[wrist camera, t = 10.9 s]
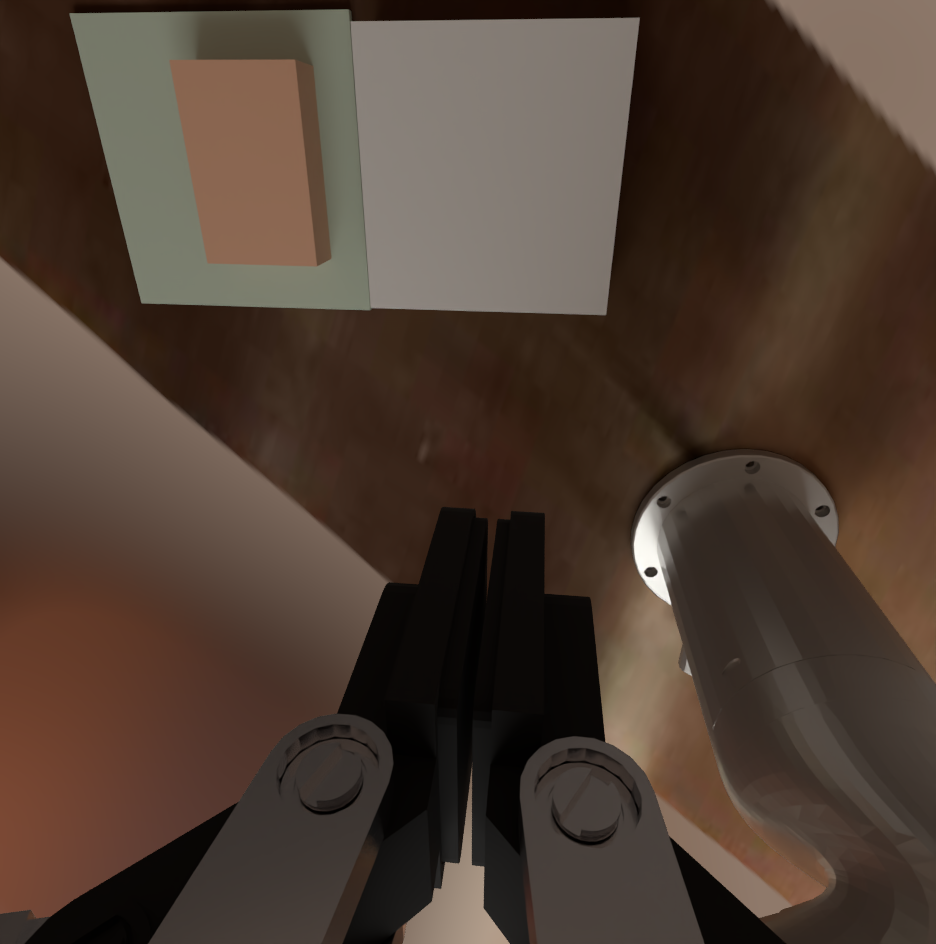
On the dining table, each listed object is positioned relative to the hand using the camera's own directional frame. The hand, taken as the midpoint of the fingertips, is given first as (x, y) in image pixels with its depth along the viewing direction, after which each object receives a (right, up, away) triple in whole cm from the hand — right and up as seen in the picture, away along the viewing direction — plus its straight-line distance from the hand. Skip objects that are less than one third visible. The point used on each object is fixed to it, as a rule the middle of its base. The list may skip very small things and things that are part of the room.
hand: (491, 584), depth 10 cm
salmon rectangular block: (-11, +17, +20) cm, 28 cm away
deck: (+1, +17, +21) cm, 27 cm away
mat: (-13, +18, +22) cm, 32 cm away
